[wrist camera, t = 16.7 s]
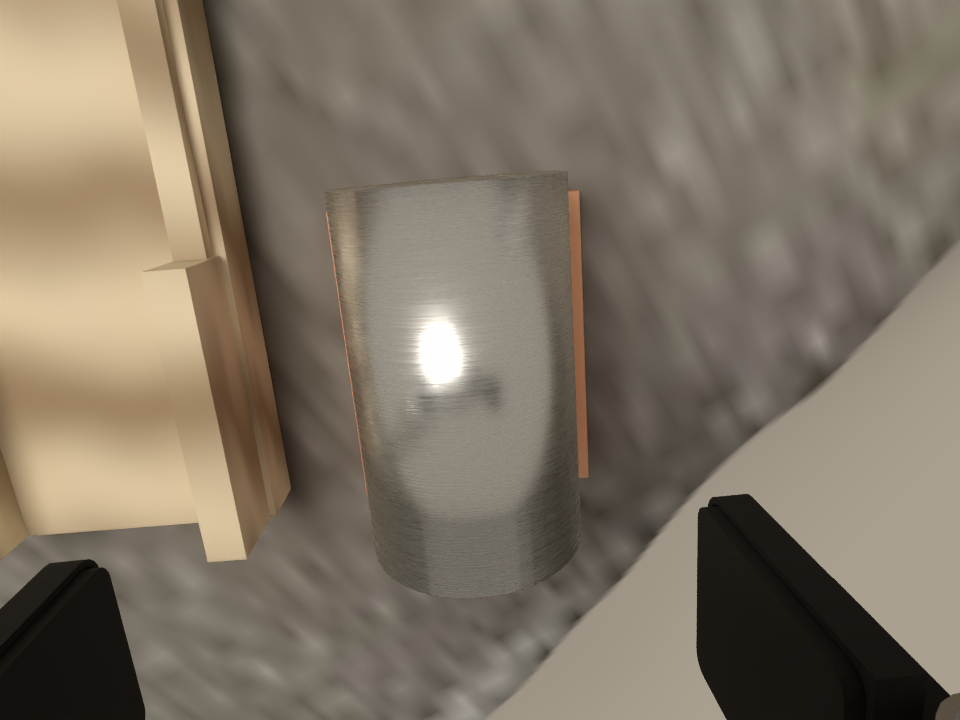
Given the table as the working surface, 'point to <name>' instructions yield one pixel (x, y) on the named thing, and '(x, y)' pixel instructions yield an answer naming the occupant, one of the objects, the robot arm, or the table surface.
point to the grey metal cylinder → (463, 376)
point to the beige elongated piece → (126, 284)
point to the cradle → (577, 328)
